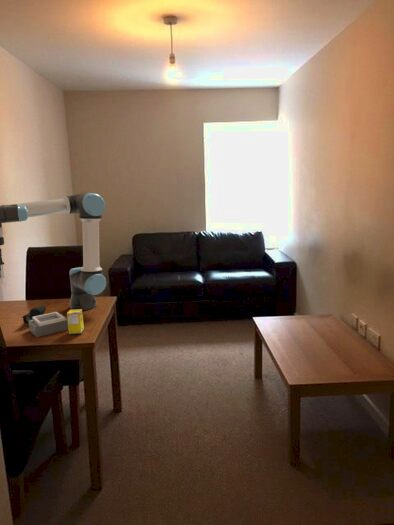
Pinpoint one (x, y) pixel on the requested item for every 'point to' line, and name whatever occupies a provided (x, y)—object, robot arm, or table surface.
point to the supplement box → (75, 322)
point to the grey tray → (48, 324)
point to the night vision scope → (34, 313)
